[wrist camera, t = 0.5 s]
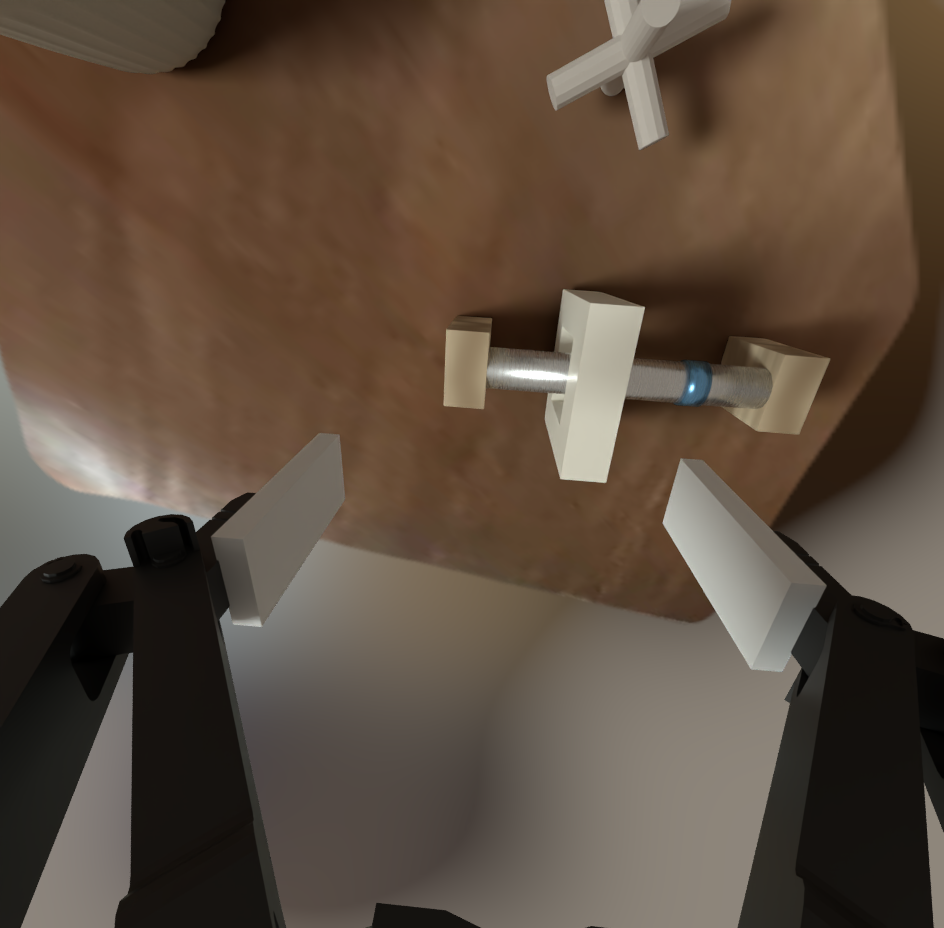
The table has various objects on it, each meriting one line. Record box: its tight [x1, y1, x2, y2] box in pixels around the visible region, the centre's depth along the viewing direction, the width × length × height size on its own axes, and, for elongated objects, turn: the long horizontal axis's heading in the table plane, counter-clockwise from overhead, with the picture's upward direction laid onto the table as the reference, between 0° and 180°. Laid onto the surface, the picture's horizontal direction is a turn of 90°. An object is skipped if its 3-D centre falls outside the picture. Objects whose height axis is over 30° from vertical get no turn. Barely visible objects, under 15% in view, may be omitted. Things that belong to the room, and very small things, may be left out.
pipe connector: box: [547, 0, 731, 151], centre depth 25 cm, size 10×10×10 cm
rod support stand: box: [444, 316, 830, 434], centre depth 34 cm, size 26×6×8 cm, turn 86°
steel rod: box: [486, 347, 773, 409], centre depth 32 cm, size 25×3×3 cm, turn 86°
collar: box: [545, 289, 645, 483], centre depth 32 cm, size 3×11×12 cm, turn 176°
